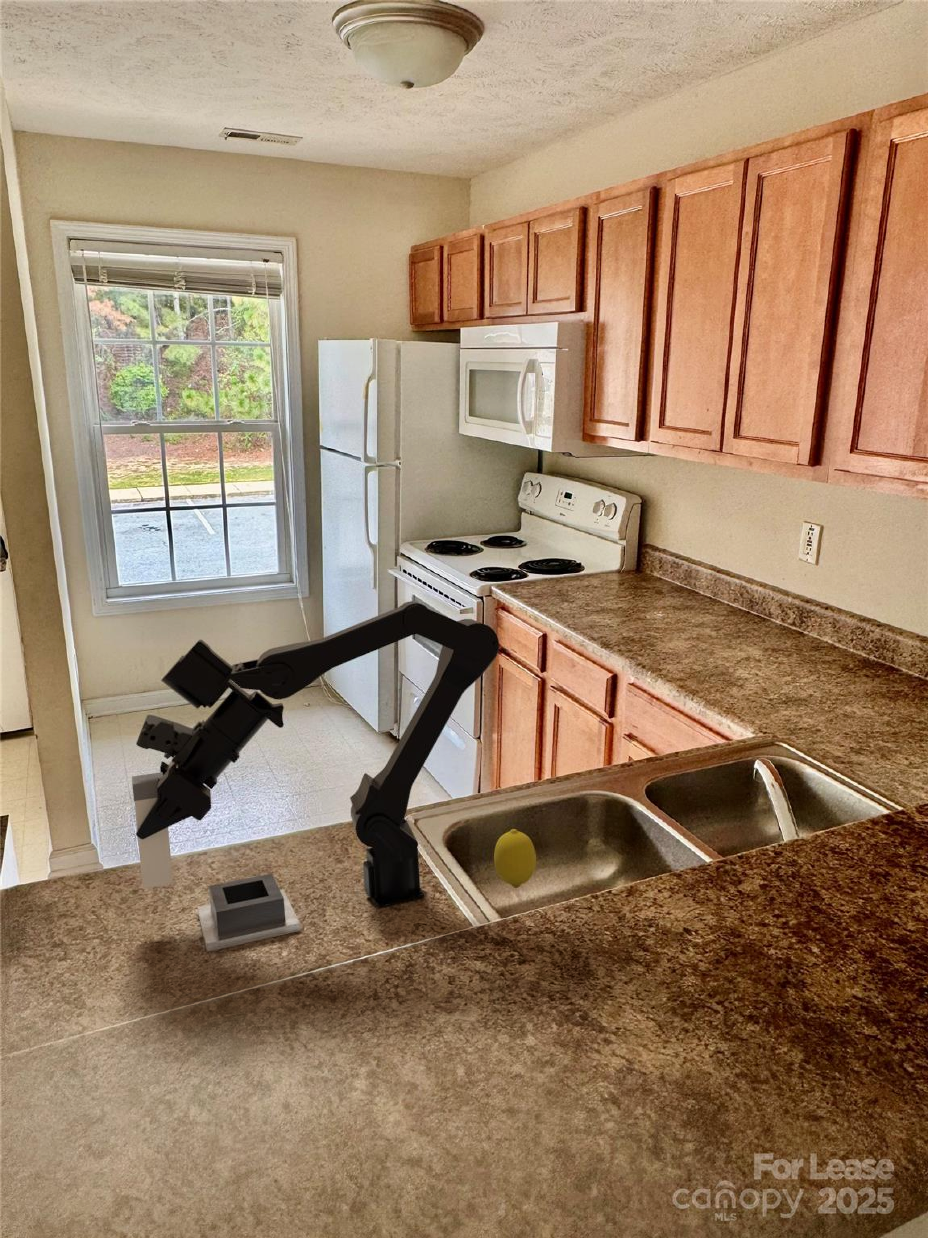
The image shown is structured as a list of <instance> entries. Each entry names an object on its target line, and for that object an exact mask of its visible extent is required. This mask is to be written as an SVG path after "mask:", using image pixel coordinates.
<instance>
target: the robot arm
mask: <svg viewBox="0 0 928 1238" xmlns="http://www.w3.org/2000/svg"><path fill="white" fill-rule="evenodd" d="M415 635H418V636H421V637H423V638H426V639H428V640H430V641H432V642H434V643H436V644H439V645H441V646H442V647H441V649H440V653H439V658H438V660H437V661H438V662H437V665H436V671H435V675H434V677H433V679H432V681H431V682H430V685H429V687H428V689H427V690H426V692H425V694H424V695H423V697H422V700H421V701H420V702H419V704H418V706H417V708H416V710H415V712H414V714H413V716H412V717H411V719H410V721H409V723H408V725H407V726H406V727H405V730H404V731H403V733H402V736H401V737H400V739H399V741H398V743H397V744H396V747H394V750H393V752H392V753H391V755H390V757H389V759H388V761H387V763H386V765H385V766H384V767H383V769H382V770H380V772H378V773H377V774H376V775H375V776H374V777H372V776H371V775H369V774H368V773H367V772H365V773H364V774H363V776H362V778H361V781H360V784H359V785H358V786H359V787H358V789H357V790H356V792H354V794H352V795H351V796H350V797H349V800H350V803H351V808H350V817H351V820H352V824H353V827H354V831H355V834H356V836H357V838H358V840H359V841H360V843H362V844H363V845H364V846H366V847H369V848H366V849H365V852H366V853H365V854H366V860H364V861H363V862H362V867H363V868H362V869H363V885H364V892H365V893H366V894H367V896H368V897H369V898H370V899H371V900H372V901H373V903H374V904H375V906H377V907H379V908H381V907H386V906H390V905H395V904H399V903H403V902H408V901H413V900H417V899H422V898H425V896H426V894H425V891H424V890H423V889H422V888H421V880H420V877H421V876H420V864H419V863H420V862H419V848H418V847H419V842H418V840H417V838H416V836H415V834H414V832H413V830H412V828H411V826H410V823H409V821H408V820H407V819H406V817H405V816H406V814H407V811H408V805H409V801H410V797H411V796H410V795H411V791H412V788H413V785H414V783H415V781H416V780H417V778H418V776H419V775H420V772H421V770H423V769H422V768H423V766H424V765H425V763H426V762H427V759H428V757H429V755H430V754H431V752H432V750H434V749H433V748H434V747H435V745H436V743H437V742H438V740H439V738H440V736H441V734H442V733H443V730H444V728H445V727H446V724H448V722H449V719H450V718H451V716H452V715H453V712H454V710H455V709H456V707H457V705H458V703H459V701H460V700H461V698H462V696H463V694H464V692H465V691H466V690H468V689H469V688H470V687H471V686H472V685H473V684H474V683H475V682H477V680H478V679H479V678H481V677H482V676H483V674H485V672H486V670H487V669H488V668H489V666H491V664H492V663H493V662H494V660H495V659H496V657H498V653H499V650H500V641H499V637H498V635H497V633H496V632H495V630H494V629H493V628H492V627H491V626H489V625H487V624H485V623H483V622H480V621H478V620H474V619H472V618H464V619H461V620H455V619H453V618H450V617H449V616H446V615H443V614H441V613H440V612H437V611H434V610H431V609H429V608H428V607H427V606H426V605H425V604H422V603H420V602H418V601H413V600H412V601H411V600H409V601H405V602H404V603H403V604H401V605H400V606H399V607H396V608H393V609H391V610H389V611H386V612H383V613H381V614H379V615H376V616H374V617H372V618H369V619H367V620H364V621H362V622H359V623H357V624H354V625H351V626H349V627H346V628H344V629H341V630H340V631H336V632H335V633H332V634H329V635H327V636H325V637H322V638H318V639H314V640H308V641H301V642H295V643H291V644H285V645H281V646H277V647H272V648H269V649H267V650H266V651H264V652H263V653H262V654H261V655H260V656H259V657H258V658H257V659H252V660H248V661H244V662H242V661H241V662H239V663H235V664H232V665H231V664H230V663H229V662H227V661H226V660H225V659H224V658H223V657H221V656H220V655H219V654H218V653H217V652H215V651H214V649H212V648H211V646H210V645H209V644H208V643H206V642H205V641H204V640H203V639H198V641H196V643H195V644H194V645H193V646H192V647H191V648H190V649H189V650H188V651H187V652H186V653H185V654H184V655H182V656H180V657H179V658H178V659H177V661H176V662H175V663H174V664H173V665H172V667H171V668H170V669H169V670H168V672H167V673H166V674H165V675H164V676H163V677H162V678H161V680H160V681H161V682H162V683H164V684H165V685H166V686H167V687H169V688H170V689H171V690H172V691H174V692H175V693H176V694H177V695H179V696H180V697H182V699H184V700H185V701H186V702H188V704H190V705H191V706H192V707H194V708H196V709H200V707H201V706H202V707H203V708H204V709H205V708H207V707H208V708H209V709H210V708H212V707H213V706H214V705H215V704H216V703H217V702H218V701H219V700H220V698H222V696H223V695H224V694H225V692H226V691H227V690H228V689H230V690H231V691H230V692H229V694H227V696H226V697H225V698H224V699H223V701H221V702H220V704H219V705H218V706H217V707H216V708H215V710H214V711H213V712H211V714H210V715H209V717H208V718H206V720H202V721H198V722H197V723H196V724H195V726H193V727H189V726H186V725H183V724H181V723H179V722H176V721H173V720H169V719H167V718H164V717H161V716H157V715H153V714H147V715H146V717H145V720H144V722H143V725H142V728H141V730H140V732H139V735H138V738H137V740H136V743H135V744H136V746H137V747H139V748H140V749H141V748H142V749H145V750H150V749H151V750H154V751H156V752H161V753H164V754H163V757H164V758H165V759H167V760H169V758H172V759H171V761H170V762H169V763H167V762H165V761H161V762H160V767H159V769H160V770H159V772H163V777H162V778H161V779H159V778H158V780H157V784H156V789H157V794H158V798H157V800H156V801H155V803H154V805H153V806H152V808H151V809H150V811H149V813H148V814H147V816H146V818H145V819H144V821H143V822H142V824H141V826H140V827H139V829H138V831H137V830H136V833H135V836H136V837H137V838H138V837H139V838H140V839H145V838H147V837H149V836H151V835H153V834H155V833H157V832H159V831H161V830H163V829H165V828H167V827H168V828H169V827H172V826H173V825H175V824H177V823H180V822H181V821H184V820H186V819H189V818H190V817H192V818H193V819H195V820H197V821H200V822H201V821H202V819H203V818H205V816H206V815H207V814H208V813H209V812H210V810H211V809H212V795H211V794H212V793H211V790H213V788H214V787H215V786H216V785H217V784H218V778H219V777H220V776H221V774H222V773H224V771H225V770H226V768H228V766H229V765H230V764H231V763H234V764H235V763H236V762H237V761H238V759H240V758H241V757H240V752H241V751H242V750H243V748H245V747H246V745H247V744H248V743H249V742H250V741H251V740H252V739H253V737H254V736H255V735H256V734H257V733H258V732H259V730H260V729H261V728H262V727H263V726H264V725H265V723H266V722H267V721H268V720H269V721H270V722H271V723H272V724H274V725H275V726H276V727H278V728H279V729H282V728H283V727H284V720H283V712H284V709H285V708H284V704H283V703H282V702H279V703H273V702H271V701H269V700H268V699H267V698H266V697H268V698H270V699H274V700H278V701H279V700H284V699H288V698H291V697H292V696H294V695H295V694H297V693H298V692H300V691H301V690H303V689H305V688H306V687H308V686H309V685H311V684H313V682H315V681H316V680H318V679H319V678H320V677H322V676H323V675H325V673H327V672H329V671H330V670H332V669H334V668H337V667H338V666H341V665H343V664H346V663H348V662H350V661H353V660H356V659H357V658H360V657H363V656H366V655H368V654H370V653H372V652H375V651H377V650H380V649H382V648H385V647H387V646H389V645H391V644H394V643H397V642H399V641H401V640H404V639H407V638H409V637H411V636H415ZM245 690H254V691H253V692H252V693H251V694H250V693H248V692H247V691H245ZM259 691H260V692H261V693H262V694H263V695H262V694H261V693H260V692H259ZM264 695H265V697H264Z"/></svg>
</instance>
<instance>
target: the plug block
mask: <svg viewBox="0 0 928 1238" xmlns="http://www.w3.org/2000/svg"><path fill="white" fill-rule="evenodd" d="M162 777H163V772H160V771H159V772H154V773H146V774H140V775H139V774H138V775H131V782H132V783H131V787H132V796H133V802H134V810H135V821H136V832H137V831H138V829H139V827H140V826H141V824H142V822H143V821H144V819H145V818H146V816H147V814H148V813H149V811H150V809H151V808H152V806H153V805H154V803H155V801H156V800H157V798H158V794H157V789H156V784H157V780H158V778H159V779H161V778H162ZM137 842H138V854H139V863H140V873H141V874H140V875H141V884H142V890H148V889H152V888H153V889H154V888H158V887H163V886H169V885H174V877H173V868H172V867H173V866H172V856H171V855H172V854H171V845H170V844H171V843H170V833H169V827H167V828H165V829H163V830H161V831H159V832H157V833H155V834H153V835H151V836H149V837H147V838H145V839H140V838H139V837H138V836H137Z"/></svg>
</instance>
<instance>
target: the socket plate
mask: <svg viewBox="0 0 928 1238" xmlns="http://www.w3.org/2000/svg"><path fill="white" fill-rule="evenodd" d="M208 889H209V890H208V891H209V904H206V905H200V906H197V913H198V919H199V922H200V923H199V924H200V927H201V931H202V935H203V936H202V937H203V941H204V945H205V948H206V952H213V951H217V950H222V949H225V948H229V947H230V948H231V947H234V946H239V945H244V944H248V943H252V942H257V941H261V940H265V939H270V938H274V937H279V936H283V935H287V934H292V933H296V932H300V931H301V923H300V921H299V919H298V917H297V915H296V912H295V910H294V909H293V906H292V904H291V903H290V900H289V898H288V896H287V894H286V892H285V890H284V889H280V888H279V886H278V884H277V881H276V879H275V877H274V875H273V873H267V874H262V875H257V876H251V877H246V878H242V879H238V880H237V879H236V880H231V881H227V882H223V883H222V882H221V883H216V884H211V885H208Z"/></svg>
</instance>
